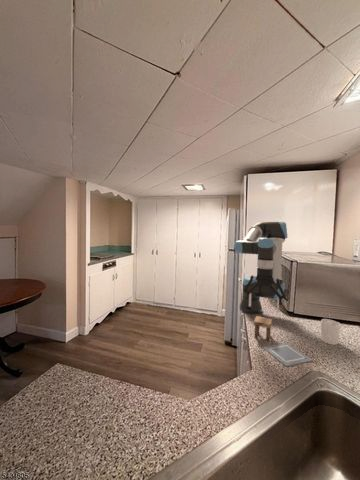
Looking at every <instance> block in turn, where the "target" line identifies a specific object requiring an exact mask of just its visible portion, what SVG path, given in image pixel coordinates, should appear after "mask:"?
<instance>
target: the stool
mask: <svg viewBox="0 0 360 480" xmlns="http://www.w3.org/2000/svg"><path fill="white" fill-rule="evenodd" d="M272 323H273V319H272V318H268V317H263V316H259V315H256V316H255V317H254V320H253V325H254V338H255V339H258V338H259V335H260V327H263V328H266V331H265V332H266V334H265V341H267V342H270V340H271V339H270V337H271V334H272V333H271V330H272Z"/></svg>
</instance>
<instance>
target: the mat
mask: <svg viewBox="0 0 360 480" xmlns="http://www.w3.org/2000/svg"><path fill="white" fill-rule="evenodd" d="M262 349H264V350H265V351H266V352H267V353H268V354H270V355H271V356H272V357H273V358H275V359H276V360H277V361H279V363H280V364H281V365H283V366H285V367H291V366H296V365H300V364H305V363H311V362H313V359H311V358H309V357H308V356H307V355H305V354H304V353H303V352H301V351H300V350H298V349H296V348H295V347H294V346H292V345H290V344H289V343H287V342H284V343H279V344H273V345H267V346H262Z"/></svg>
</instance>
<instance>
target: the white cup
mask: <svg viewBox="0 0 360 480" xmlns="http://www.w3.org/2000/svg"><path fill="white" fill-rule="evenodd" d="M340 331H341V323H340V322H339V321H336V320H334V319H333V320H332V319H329V318H322V319H321V320H320V333H321V340H322V342H324V343H325V344H327V345H332V346H336V345H338V344H339V340H340V339H339V338H340Z"/></svg>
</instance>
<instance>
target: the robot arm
mask: <svg viewBox="0 0 360 480" xmlns="http://www.w3.org/2000/svg"><path fill="white" fill-rule="evenodd" d="M288 238H289V237H288V229H287V223H286V221H285V222H284V221H261V222H260V221H259V222H258V223H255V224H254V225H252V226H250V228H249V229H248V233H247V234H246V235H245V236H244V237H243V239H242V240H236V241H235V243H234V251H235V253H237V254H244V255H257V263H256V264H257V265H256V267H257V268H256V276H254V275H253V274H252V275H250V276H247V277H244V278H243V280H242V285H241V286H242V292H241V295H242V298H241V300H240V303H239V310H240V311H241V312H243V313H246V314H253V315H257V314H261V313H262V312H263V308H262V304H261V301H260V298H263V299H269V300H276V312H277V313H280V312H279V310H280V306H282V301H283V299H286V297H287V296H286V293H285V286H286V283H285V282H284V281H283V280H284V279H283V278H282V277H281V272H282V271H281V270H282V258H283V256H282V255H283V243H284V242H285V241H286V239H288Z"/></svg>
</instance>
